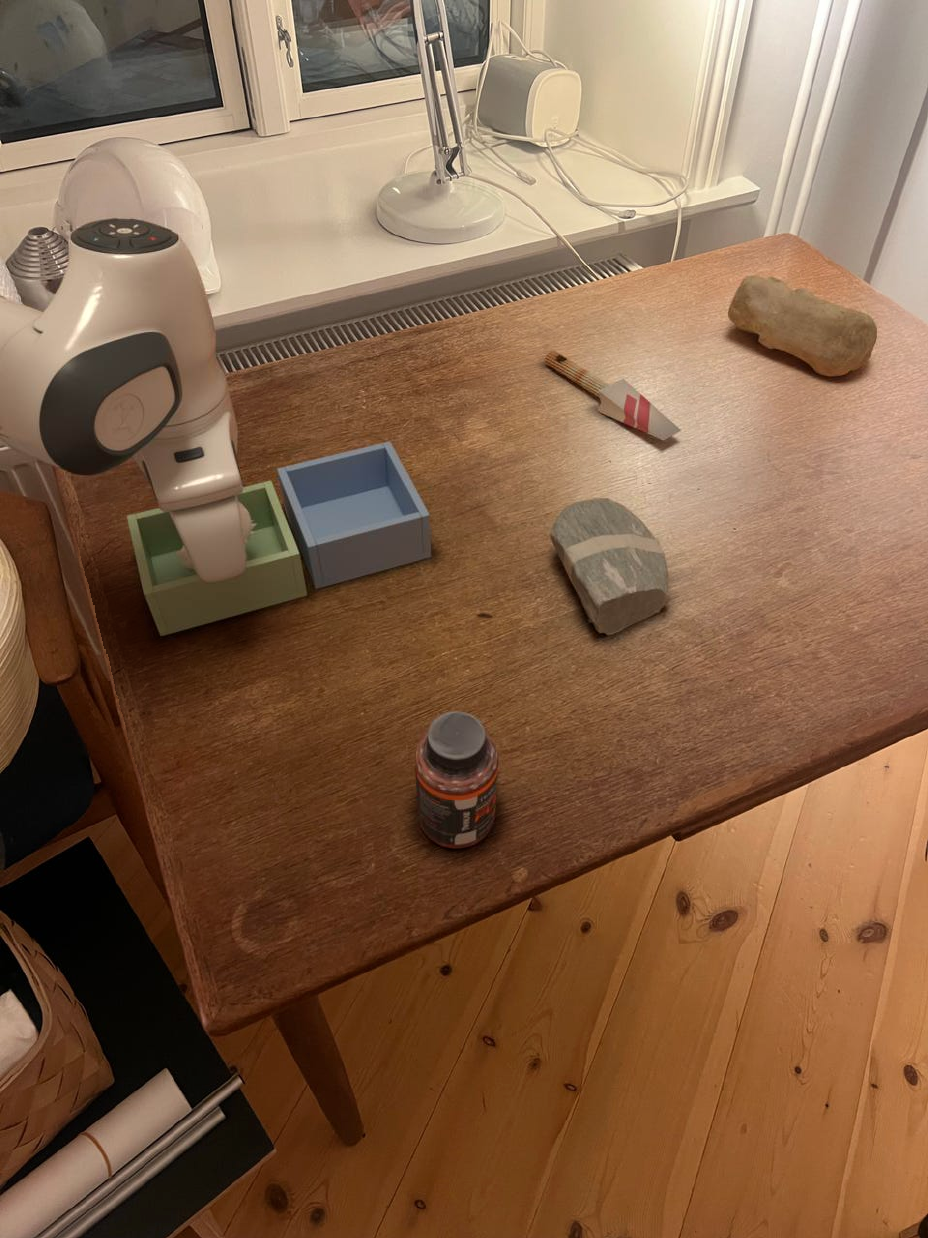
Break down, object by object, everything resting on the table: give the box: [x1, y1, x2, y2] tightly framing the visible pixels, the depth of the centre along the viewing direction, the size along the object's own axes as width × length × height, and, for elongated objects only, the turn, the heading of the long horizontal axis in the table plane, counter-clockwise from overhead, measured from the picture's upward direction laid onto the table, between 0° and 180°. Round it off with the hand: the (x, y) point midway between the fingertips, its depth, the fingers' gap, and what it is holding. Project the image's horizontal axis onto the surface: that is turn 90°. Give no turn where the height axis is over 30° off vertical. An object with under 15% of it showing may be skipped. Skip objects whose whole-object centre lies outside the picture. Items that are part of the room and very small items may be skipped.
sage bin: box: [126, 480, 308, 637], centre depth 85 cm, size 14×11×6 cm
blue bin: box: [276, 440, 432, 590], centre depth 89 cm, size 12×12×6 cm
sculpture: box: [727, 275, 878, 377], centre depth 109 cm, size 9×17×10 cm
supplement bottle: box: [414, 710, 499, 849], centre depth 67 cm, size 6×6×11 cm
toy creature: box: [176, 502, 258, 571], centre depth 83 cm, size 5×8×6 cm, turn 131°
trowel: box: [544, 349, 682, 441], centre depth 104 cm, size 4×3×20 cm
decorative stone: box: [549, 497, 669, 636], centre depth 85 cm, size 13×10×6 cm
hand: (214, 545), depth 84 cm, fingers closed on toy creature, 5 cm apart
